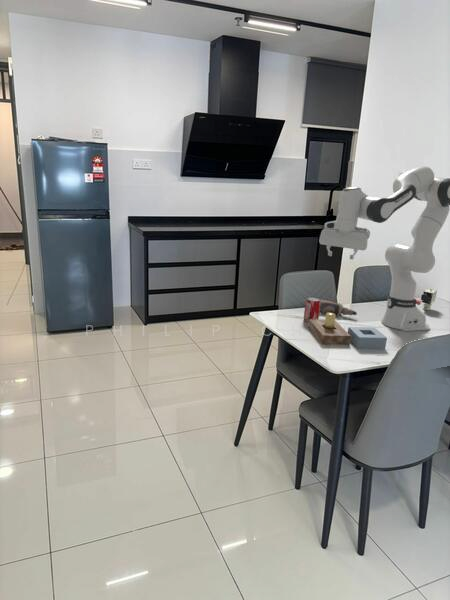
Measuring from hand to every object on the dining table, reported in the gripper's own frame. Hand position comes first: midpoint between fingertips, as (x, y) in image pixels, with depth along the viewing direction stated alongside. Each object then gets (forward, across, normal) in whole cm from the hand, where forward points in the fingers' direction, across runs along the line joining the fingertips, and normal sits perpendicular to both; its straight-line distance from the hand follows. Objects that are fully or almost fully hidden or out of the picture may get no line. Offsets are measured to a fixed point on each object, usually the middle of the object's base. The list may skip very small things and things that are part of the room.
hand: (340, 257), depth 192 cm
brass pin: (+34, -1, +8) cm, 35 cm away
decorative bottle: (+34, +5, -27) cm, 44 cm away
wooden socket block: (+35, -1, +8) cm, 36 cm away
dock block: (+34, -17, +8) cm, 39 cm away
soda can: (+35, +10, -8) cm, 37 cm away
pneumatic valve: (+32, -41, -67) cm, 86 cm away
